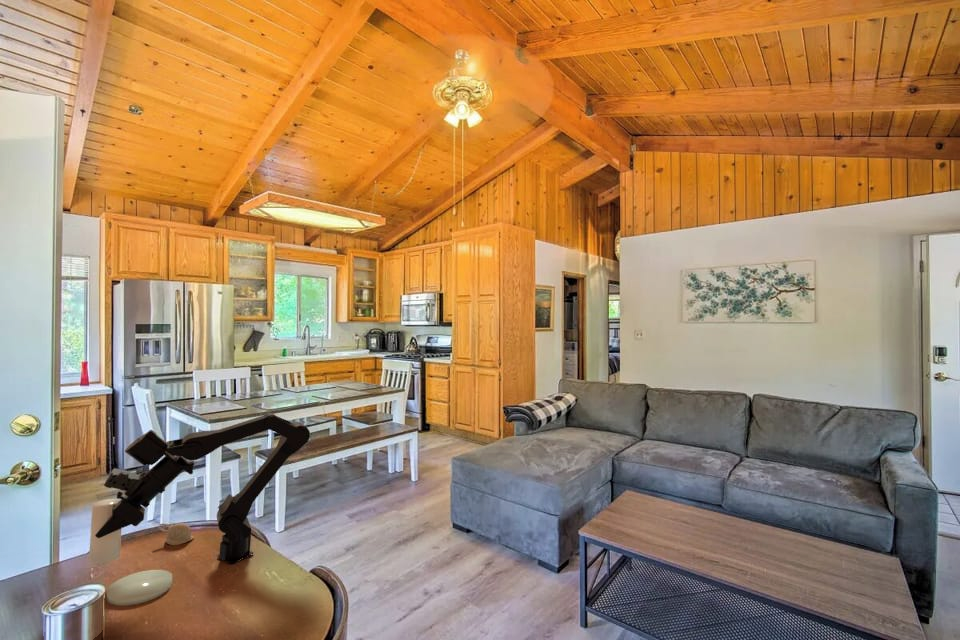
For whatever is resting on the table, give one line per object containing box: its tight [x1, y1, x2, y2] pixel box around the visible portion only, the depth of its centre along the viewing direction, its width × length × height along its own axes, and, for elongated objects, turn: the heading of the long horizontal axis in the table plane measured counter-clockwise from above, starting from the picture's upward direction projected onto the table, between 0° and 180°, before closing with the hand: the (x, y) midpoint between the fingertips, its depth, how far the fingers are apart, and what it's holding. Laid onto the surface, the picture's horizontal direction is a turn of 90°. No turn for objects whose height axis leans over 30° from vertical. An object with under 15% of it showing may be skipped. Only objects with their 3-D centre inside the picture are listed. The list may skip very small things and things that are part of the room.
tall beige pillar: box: [88, 498, 123, 566], centre depth 105 cm, size 6×6×13 cm
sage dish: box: [106, 569, 173, 607], centre depth 103 cm, size 12×12×2 cm
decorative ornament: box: [157, 522, 195, 546], centre depth 127 cm, size 4×8×5 cm, turn 101°
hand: (98, 531), depth 104 cm, fingers closed on tall beige pillar, 6 cm apart
